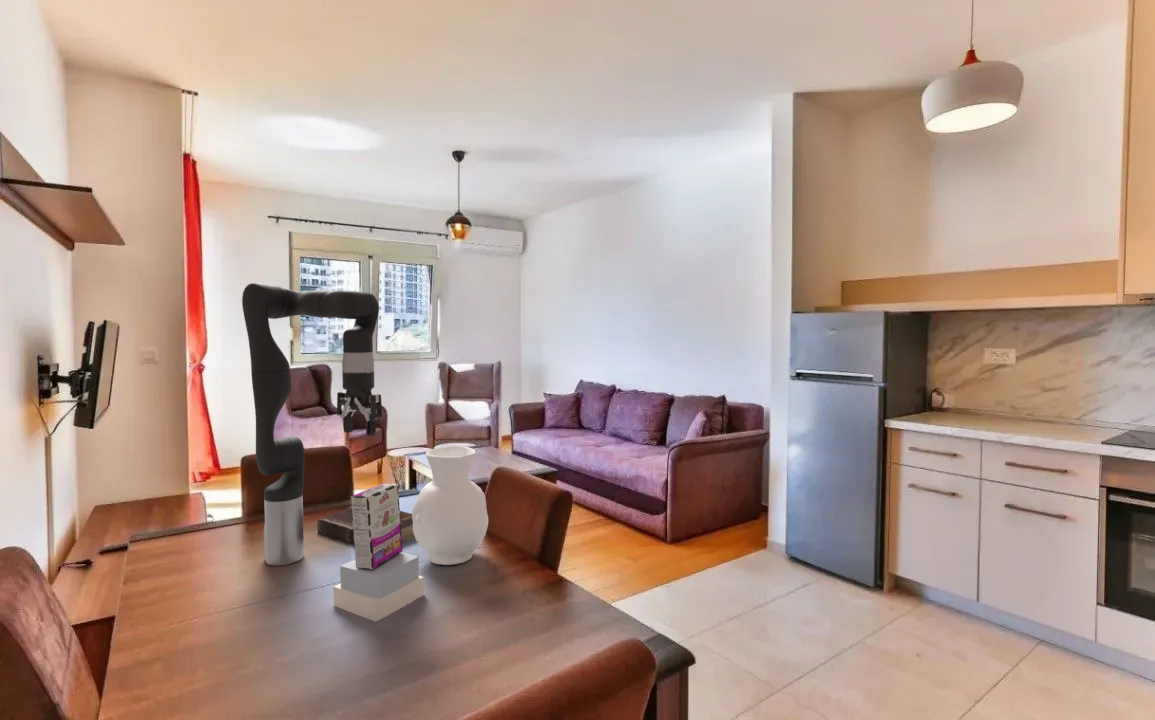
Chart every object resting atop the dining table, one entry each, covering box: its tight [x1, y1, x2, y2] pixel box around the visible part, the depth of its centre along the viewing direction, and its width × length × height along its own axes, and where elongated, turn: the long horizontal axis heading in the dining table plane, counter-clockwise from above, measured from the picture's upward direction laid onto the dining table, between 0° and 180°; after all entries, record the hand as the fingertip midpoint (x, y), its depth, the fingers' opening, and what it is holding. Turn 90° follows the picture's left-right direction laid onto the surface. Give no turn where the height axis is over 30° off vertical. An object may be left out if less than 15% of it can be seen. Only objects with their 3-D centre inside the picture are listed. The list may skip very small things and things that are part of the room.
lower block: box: [332, 575, 425, 623], centre depth 128 cm, size 14×14×5 cm
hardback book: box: [317, 507, 415, 545], centre depth 171 cm, size 29×19×5 cm, turn 57°
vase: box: [411, 445, 489, 566], centre depth 151 cm, size 19×21×30 cm
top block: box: [339, 551, 420, 599], centre depth 127 cm, size 12×12×5 cm
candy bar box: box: [350, 483, 404, 569], centre depth 127 cm, size 11×5×16 cm, turn 163°
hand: (359, 433), depth 141 cm, fingers open, 8 cm apart
